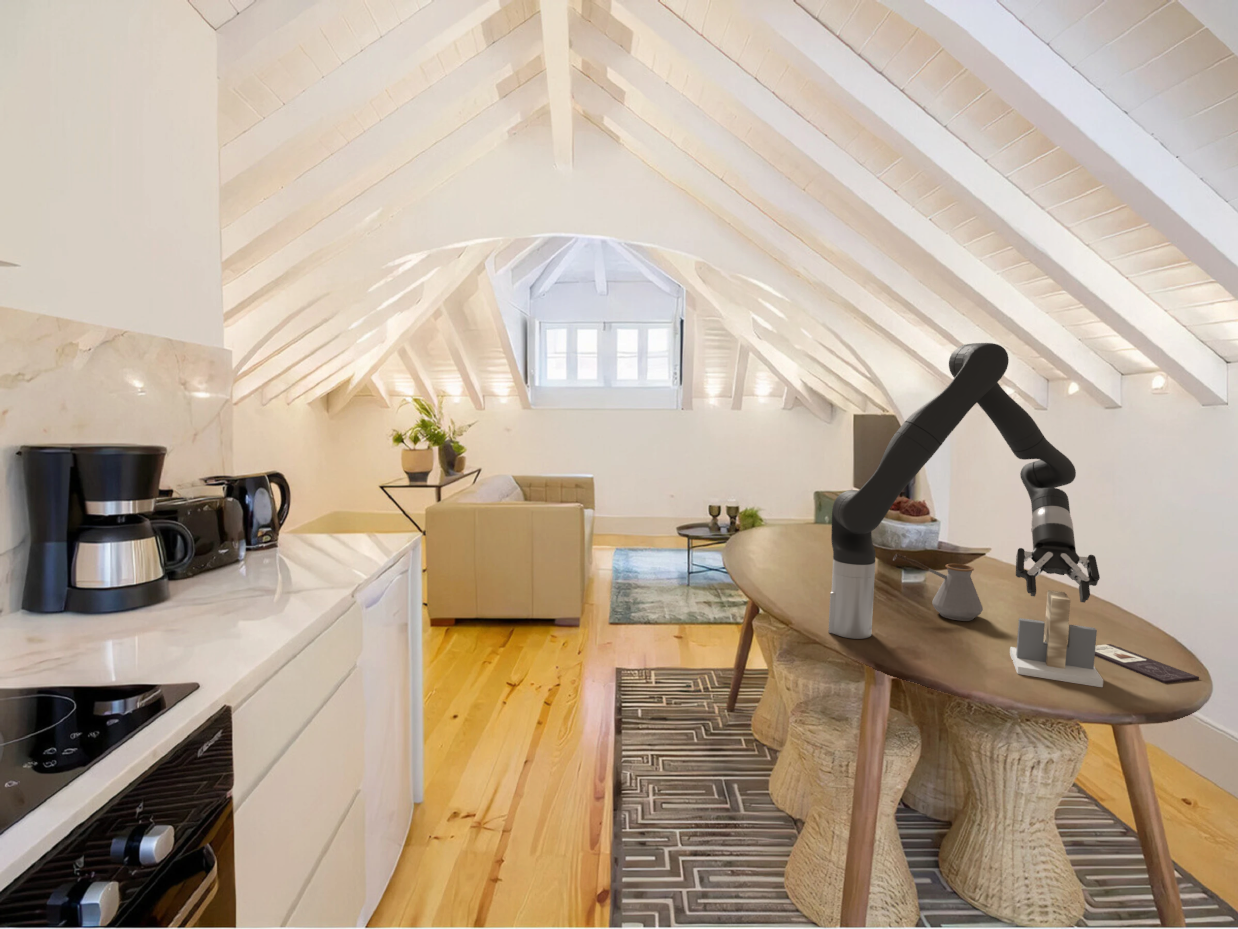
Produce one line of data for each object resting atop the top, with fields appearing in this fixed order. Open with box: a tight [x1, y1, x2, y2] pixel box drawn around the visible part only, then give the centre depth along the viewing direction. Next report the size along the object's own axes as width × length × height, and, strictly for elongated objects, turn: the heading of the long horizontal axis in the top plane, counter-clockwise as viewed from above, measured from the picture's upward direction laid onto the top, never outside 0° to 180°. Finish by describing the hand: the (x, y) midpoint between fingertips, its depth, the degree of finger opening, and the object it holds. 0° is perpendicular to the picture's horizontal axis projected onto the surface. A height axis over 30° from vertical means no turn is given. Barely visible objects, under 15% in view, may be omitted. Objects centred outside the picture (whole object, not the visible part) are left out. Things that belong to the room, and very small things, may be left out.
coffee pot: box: [892, 552, 984, 622], centre depth 166 cm, size 21×12×15 cm, turn 72°
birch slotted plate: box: [1043, 589, 1071, 669], centre depth 132 cm, size 3×6×14 cm, turn 154°
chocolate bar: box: [1095, 643, 1200, 684], centre depth 136 cm, size 9×1×18 cm
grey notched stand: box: [1009, 617, 1104, 688], centre depth 132 cm, size 14×12×10 cm
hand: (1058, 597), depth 131 cm, fingers open, 8 cm apart
